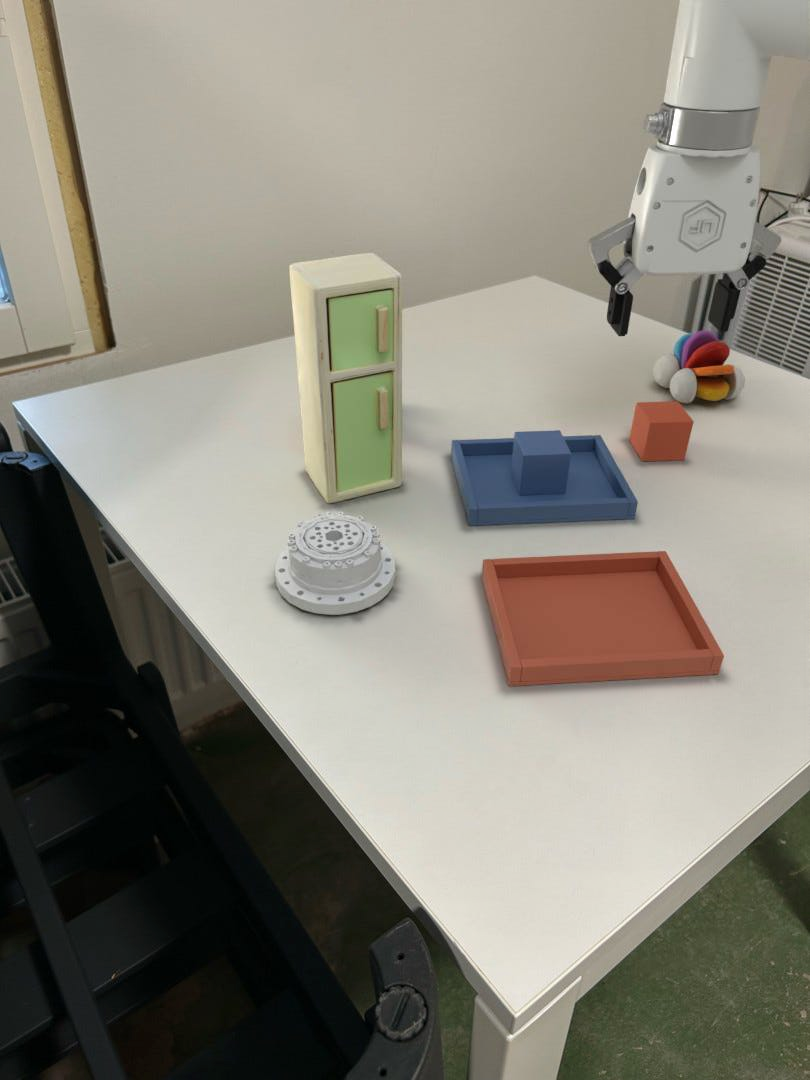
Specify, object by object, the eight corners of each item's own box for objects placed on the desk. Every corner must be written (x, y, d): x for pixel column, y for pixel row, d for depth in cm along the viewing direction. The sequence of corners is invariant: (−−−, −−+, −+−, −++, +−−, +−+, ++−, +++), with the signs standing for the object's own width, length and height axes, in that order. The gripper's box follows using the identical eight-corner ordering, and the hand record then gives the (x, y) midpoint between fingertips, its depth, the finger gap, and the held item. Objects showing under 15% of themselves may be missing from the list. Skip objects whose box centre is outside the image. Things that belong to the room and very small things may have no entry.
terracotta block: (669, 438, 89) (678, 400, 86) (684, 460, 85) (694, 421, 83) (628, 440, 89) (636, 402, 86) (642, 461, 85) (650, 422, 82)
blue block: (554, 469, 83) (560, 429, 80) (565, 493, 79) (571, 453, 76) (510, 471, 82) (514, 431, 80) (519, 495, 79) (523, 455, 76)
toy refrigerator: (328, 510, 77) (316, 289, 65) (303, 472, 83) (287, 261, 70) (405, 491, 80) (408, 276, 67) (376, 456, 85) (374, 250, 73)
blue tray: (597, 450, 87) (600, 434, 86) (634, 518, 77) (638, 501, 75) (450, 455, 86) (451, 439, 84) (468, 526, 75) (469, 508, 74)
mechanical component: (404, 610, 66) (385, 538, 74) (405, 567, 63) (385, 496, 71) (279, 624, 65) (273, 548, 72) (274, 580, 62) (269, 507, 70)
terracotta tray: (661, 568, 71) (665, 550, 70) (718, 674, 61) (724, 655, 59) (481, 576, 70) (482, 558, 68) (508, 686, 59) (511, 667, 58)
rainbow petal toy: (682, 414, 93) (695, 354, 89) (642, 377, 101) (653, 320, 97) (748, 406, 95) (765, 347, 91) (705, 371, 103) (718, 315, 98)
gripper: (617, 140, 64) (589, 348, 74) (830, 135, 65) (774, 340, 75) (590, 123, 70) (567, 317, 80) (786, 118, 71) (739, 310, 81)
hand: (667, 328), depth 78 cm, fingers open, 9 cm apart
